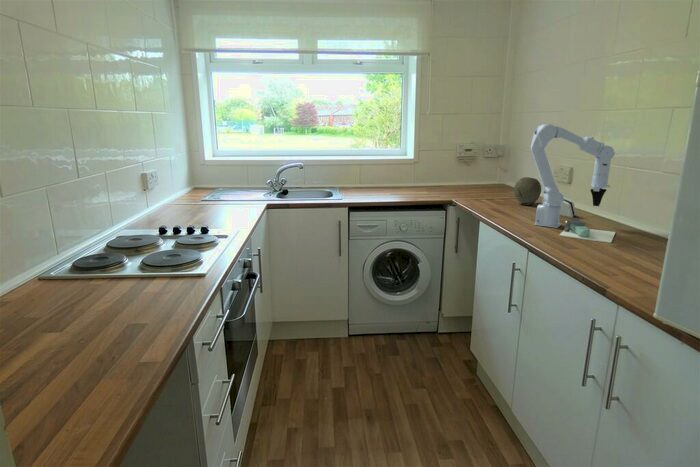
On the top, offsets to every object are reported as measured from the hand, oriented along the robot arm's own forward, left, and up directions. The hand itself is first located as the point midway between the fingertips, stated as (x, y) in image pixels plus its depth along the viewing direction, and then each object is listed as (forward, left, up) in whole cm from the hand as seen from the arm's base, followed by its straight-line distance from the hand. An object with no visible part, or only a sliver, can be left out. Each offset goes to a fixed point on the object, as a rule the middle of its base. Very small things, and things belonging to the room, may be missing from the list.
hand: (596, 205), depth 183 cm
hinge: (-18, +20, -10) cm, 29 cm away
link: (-4, -16, -9) cm, 18 cm away
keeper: (-5, -16, -9) cm, 19 cm away
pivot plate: (0, -16, -9) cm, 18 cm away
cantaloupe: (-37, +37, -10) cm, 54 cm away
